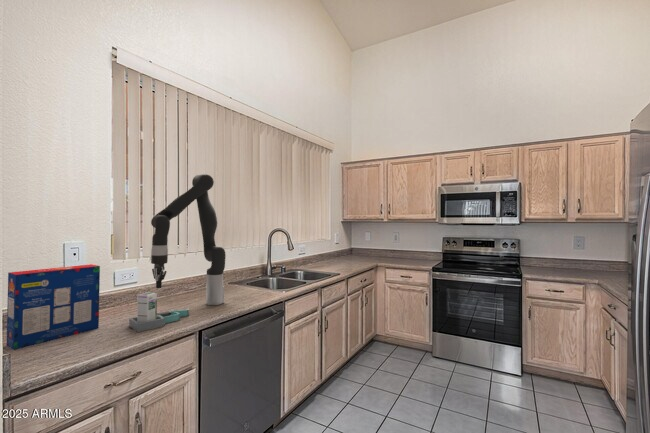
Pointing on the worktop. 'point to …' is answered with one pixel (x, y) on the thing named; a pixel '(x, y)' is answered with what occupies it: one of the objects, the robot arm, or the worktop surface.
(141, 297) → the syrup box
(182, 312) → the clip
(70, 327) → the blue toy box
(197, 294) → the worktop surface
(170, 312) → the tall charcoal prism
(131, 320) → the holder
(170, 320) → the clip
